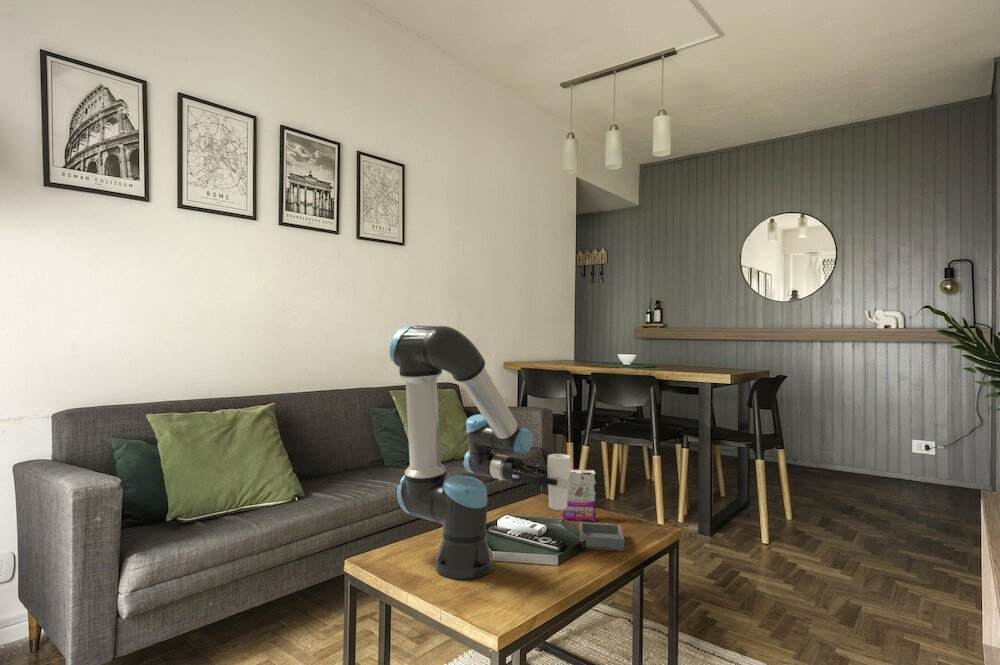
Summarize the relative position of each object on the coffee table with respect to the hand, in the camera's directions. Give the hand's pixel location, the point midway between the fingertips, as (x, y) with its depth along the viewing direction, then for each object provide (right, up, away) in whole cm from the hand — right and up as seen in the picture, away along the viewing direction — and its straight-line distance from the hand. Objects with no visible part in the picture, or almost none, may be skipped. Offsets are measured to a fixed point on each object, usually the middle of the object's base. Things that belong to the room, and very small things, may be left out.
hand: (574, 481), depth 159 cm
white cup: (-4, -9, +3) cm, 10 cm away
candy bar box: (+6, -22, +32) cm, 39 cm away
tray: (+10, -21, +11) cm, 26 cm away
